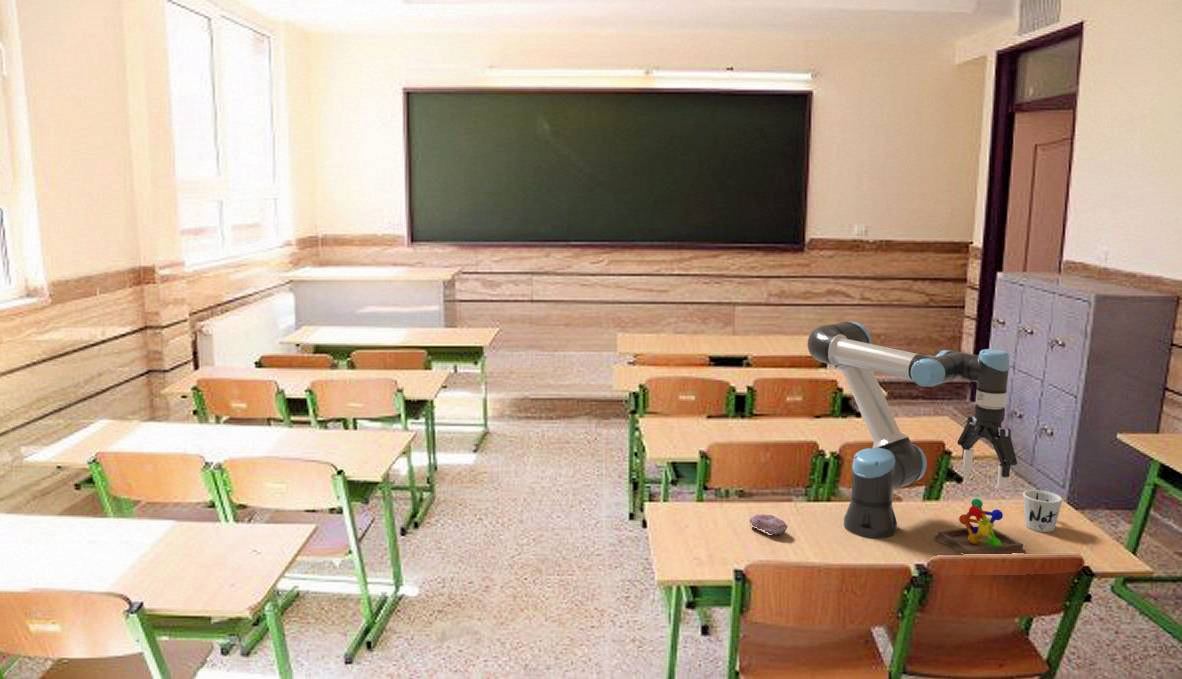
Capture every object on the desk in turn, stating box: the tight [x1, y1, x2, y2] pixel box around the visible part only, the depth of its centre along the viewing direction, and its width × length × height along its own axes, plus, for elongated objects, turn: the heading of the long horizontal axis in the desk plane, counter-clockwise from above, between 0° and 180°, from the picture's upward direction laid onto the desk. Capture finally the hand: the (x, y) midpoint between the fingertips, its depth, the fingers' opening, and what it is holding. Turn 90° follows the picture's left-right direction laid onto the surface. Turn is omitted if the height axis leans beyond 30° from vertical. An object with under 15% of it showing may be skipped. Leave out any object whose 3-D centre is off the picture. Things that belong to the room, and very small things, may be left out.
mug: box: [1022, 489, 1063, 533], centre depth 249 cm, size 10×15×10 cm
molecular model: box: [958, 498, 1004, 547], centre depth 234 cm, size 11×7×12 cm, turn 10°
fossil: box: [749, 514, 788, 536], centre depth 247 cm, size 8×14×5 cm, turn 30°
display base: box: [934, 525, 1026, 554], centre depth 235 cm, size 16×17×2 cm
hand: (983, 479), depth 232 cm, fingers open, 13 cm apart
